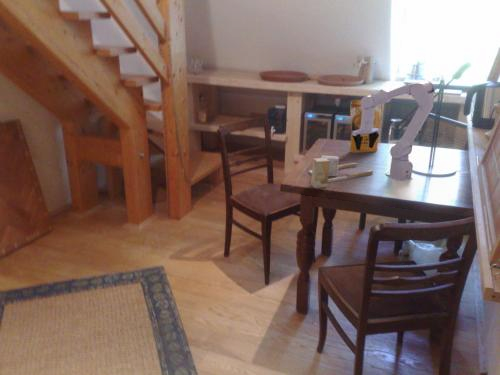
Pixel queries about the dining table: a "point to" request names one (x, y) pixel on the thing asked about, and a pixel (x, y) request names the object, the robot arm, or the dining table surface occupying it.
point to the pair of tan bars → (354, 173)
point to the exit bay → (333, 178)
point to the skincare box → (320, 172)
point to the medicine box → (332, 165)
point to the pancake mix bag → (356, 124)
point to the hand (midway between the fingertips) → (364, 148)
